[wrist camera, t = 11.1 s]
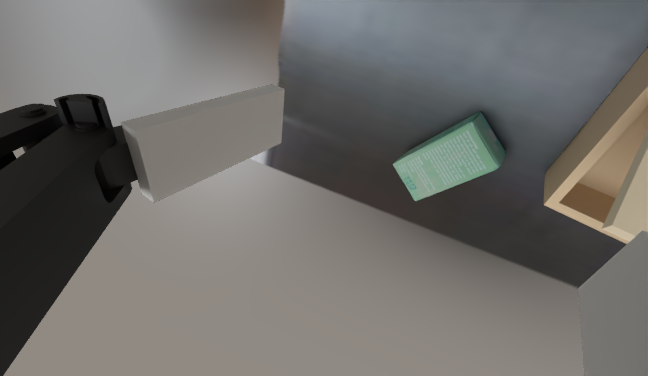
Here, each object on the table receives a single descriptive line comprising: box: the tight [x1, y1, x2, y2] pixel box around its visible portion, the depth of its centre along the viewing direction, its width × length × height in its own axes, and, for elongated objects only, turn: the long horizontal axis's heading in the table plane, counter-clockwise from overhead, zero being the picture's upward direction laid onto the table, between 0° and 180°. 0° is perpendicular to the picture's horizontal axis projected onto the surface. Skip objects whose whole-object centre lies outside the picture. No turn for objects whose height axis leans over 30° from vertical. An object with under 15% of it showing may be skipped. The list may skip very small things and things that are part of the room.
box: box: [393, 112, 505, 201], centre depth 45 cm, size 7×14×8 cm, turn 132°
